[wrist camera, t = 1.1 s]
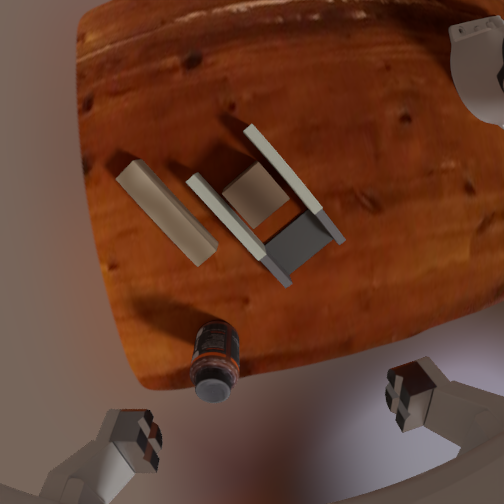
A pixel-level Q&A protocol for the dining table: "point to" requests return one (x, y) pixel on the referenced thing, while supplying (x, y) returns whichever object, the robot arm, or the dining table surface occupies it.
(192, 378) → the supplement bottle
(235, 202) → the block
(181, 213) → the rod
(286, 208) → the dining table surface
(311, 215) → the channel
